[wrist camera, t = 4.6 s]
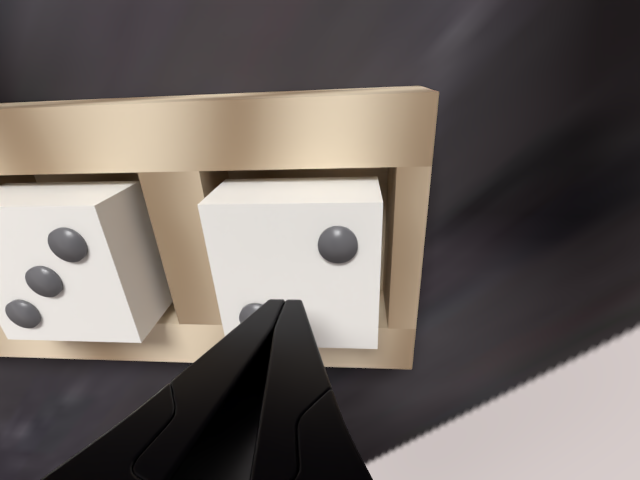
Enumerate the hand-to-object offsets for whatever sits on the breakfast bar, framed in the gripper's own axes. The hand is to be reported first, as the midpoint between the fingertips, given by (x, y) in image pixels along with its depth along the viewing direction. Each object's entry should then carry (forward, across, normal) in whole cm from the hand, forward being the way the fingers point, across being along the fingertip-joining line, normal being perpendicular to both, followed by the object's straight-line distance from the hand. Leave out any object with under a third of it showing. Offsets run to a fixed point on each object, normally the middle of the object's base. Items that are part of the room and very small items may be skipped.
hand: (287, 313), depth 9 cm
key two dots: (+4, 0, 0) cm, 4 cm away
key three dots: (+4, +8, 0) cm, 9 cm away
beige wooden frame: (+6, +8, 0) cm, 10 cm away
